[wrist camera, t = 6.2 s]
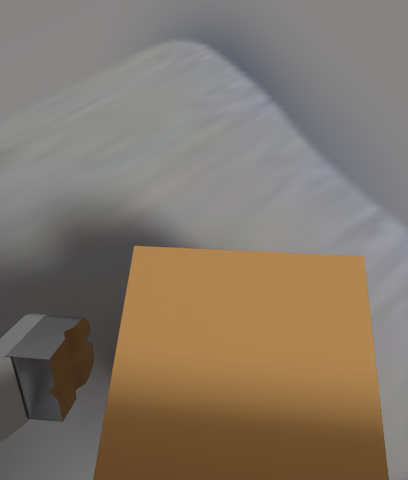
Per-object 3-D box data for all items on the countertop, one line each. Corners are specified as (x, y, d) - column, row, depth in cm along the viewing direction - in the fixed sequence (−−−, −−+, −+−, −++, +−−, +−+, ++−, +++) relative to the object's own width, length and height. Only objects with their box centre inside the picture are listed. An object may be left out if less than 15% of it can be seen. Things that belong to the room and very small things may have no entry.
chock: (297, 451, 12) (398, 563, 5) (172, 437, 13) (86, 518, 5) (294, 322, 14) (364, 256, 6) (185, 315, 14) (134, 245, 7)
